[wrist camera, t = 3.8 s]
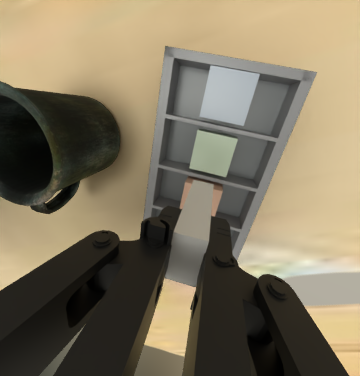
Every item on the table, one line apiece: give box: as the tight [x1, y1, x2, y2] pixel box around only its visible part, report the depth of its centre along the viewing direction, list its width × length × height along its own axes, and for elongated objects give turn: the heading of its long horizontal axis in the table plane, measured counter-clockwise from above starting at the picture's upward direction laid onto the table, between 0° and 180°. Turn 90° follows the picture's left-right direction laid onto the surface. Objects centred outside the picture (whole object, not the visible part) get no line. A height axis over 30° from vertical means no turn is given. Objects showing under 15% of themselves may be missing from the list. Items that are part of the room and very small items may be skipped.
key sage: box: [189, 129, 238, 177], centre depth 22 cm, size 4×4×2 cm
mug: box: [0, 81, 120, 214], centre depth 22 cm, size 11×15×12 cm
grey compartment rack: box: [143, 46, 317, 260], centre depth 24 cm, size 14×24×4 cm, turn 169°
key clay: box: [180, 176, 223, 217], centre depth 23 cm, size 4×4×2 cm
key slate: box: [199, 65, 260, 126], centre depth 18 cm, size 4×4×2 cm
